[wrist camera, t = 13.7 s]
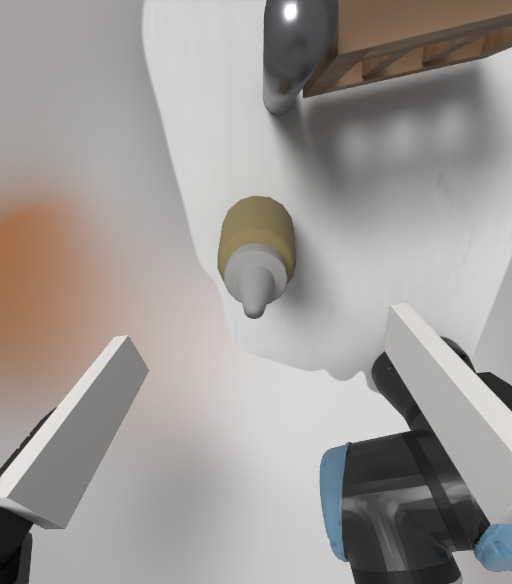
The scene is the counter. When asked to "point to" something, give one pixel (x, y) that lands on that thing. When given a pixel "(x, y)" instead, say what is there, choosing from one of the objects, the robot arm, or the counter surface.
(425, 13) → the gate
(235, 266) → the squeeze bottle
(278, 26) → the gate post
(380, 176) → the counter surface
